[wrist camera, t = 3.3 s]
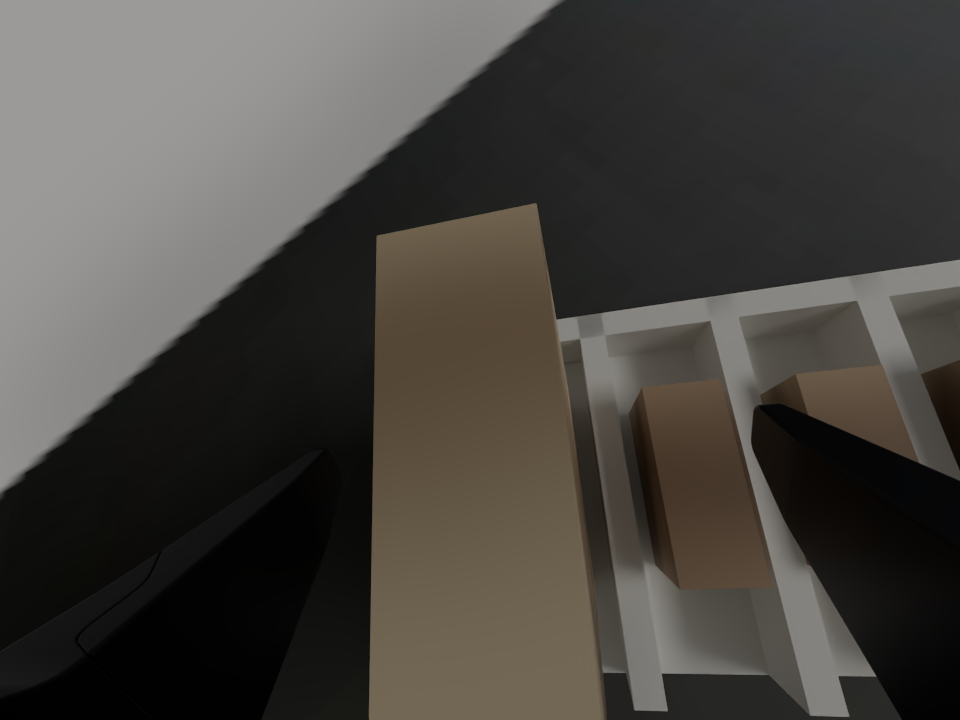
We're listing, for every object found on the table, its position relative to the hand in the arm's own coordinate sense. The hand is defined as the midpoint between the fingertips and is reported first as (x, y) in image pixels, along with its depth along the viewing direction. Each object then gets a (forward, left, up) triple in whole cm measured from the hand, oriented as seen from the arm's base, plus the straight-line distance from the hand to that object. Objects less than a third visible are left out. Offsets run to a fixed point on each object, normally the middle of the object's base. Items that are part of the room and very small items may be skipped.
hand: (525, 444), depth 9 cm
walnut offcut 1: (+1, -4, -7) cm, 8 cm away
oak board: (-1, 0, -7) cm, 7 cm away
